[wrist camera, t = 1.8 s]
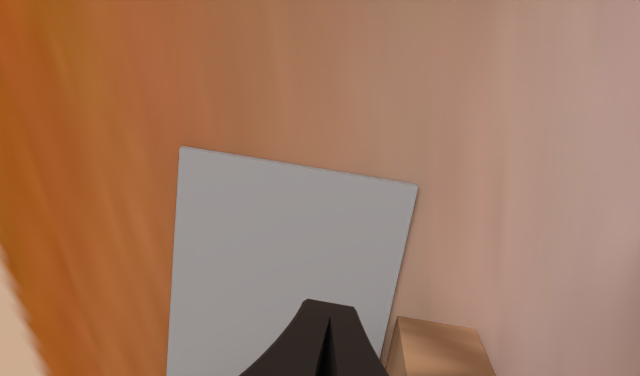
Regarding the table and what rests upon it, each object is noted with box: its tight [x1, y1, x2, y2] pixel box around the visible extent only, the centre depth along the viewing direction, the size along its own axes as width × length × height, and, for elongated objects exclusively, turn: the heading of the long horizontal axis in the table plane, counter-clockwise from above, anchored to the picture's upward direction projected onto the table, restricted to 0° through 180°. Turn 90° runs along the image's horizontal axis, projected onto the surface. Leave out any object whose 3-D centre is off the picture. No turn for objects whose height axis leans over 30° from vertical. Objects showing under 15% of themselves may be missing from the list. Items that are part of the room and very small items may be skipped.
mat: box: [166, 146, 418, 376], centre depth 24 cm, size 11×20×1 cm, turn 171°
